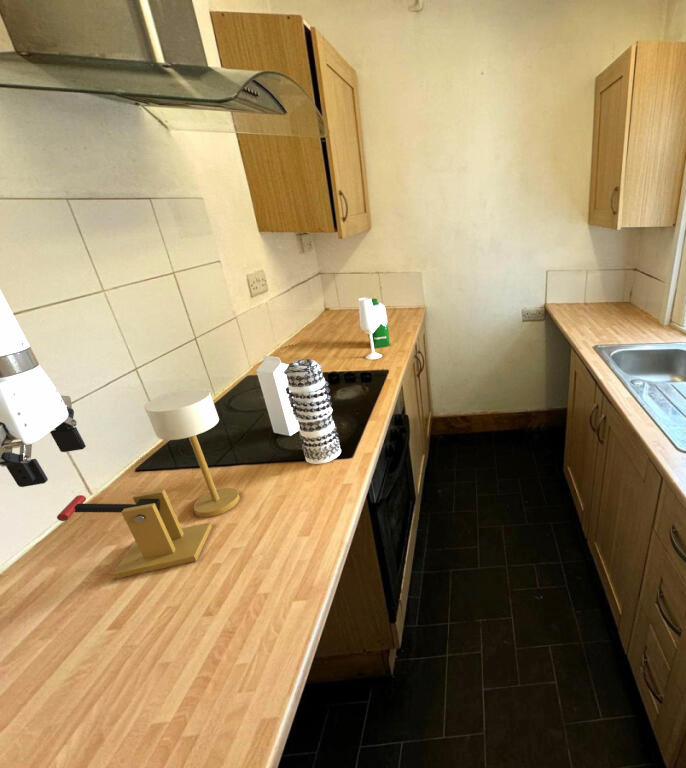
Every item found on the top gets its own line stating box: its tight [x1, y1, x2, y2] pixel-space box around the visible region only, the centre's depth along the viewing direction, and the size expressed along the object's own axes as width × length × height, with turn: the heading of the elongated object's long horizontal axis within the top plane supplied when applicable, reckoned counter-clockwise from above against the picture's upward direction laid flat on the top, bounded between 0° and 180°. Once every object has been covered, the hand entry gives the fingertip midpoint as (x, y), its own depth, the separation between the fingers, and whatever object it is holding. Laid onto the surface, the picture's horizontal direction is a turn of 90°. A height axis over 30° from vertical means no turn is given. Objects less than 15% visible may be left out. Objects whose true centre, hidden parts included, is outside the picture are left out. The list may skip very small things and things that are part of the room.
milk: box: [255, 355, 300, 437], centre depth 113 cm, size 6×6×22 cm
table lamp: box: [144, 387, 240, 518], centre depth 84 cm, size 10×10×25 cm
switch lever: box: [56, 494, 160, 522], centre depth 71 cm, size 12×5×2 cm, turn 109°
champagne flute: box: [357, 297, 383, 360], centre depth 167 cm, size 7×7×24 cm
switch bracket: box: [112, 488, 213, 580], centre depth 74 cm, size 12×9×12 cm
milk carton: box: [367, 298, 390, 349], centre depth 182 cm, size 9×9×20 cm
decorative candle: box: [284, 358, 342, 465], centre depth 101 cm, size 9×9×25 cm
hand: (55, 465), depth 66 cm, fingers open, 9 cm apart
